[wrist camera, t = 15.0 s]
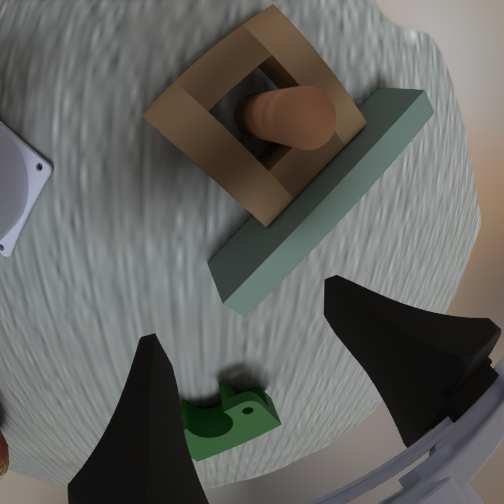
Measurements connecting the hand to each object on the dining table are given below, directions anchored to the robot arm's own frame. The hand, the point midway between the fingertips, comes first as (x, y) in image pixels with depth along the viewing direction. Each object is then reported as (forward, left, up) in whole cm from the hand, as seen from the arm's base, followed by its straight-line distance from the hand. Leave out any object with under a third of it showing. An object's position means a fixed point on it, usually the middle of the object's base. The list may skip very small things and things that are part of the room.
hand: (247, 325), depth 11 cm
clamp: (+14, -15, -10) cm, 23 cm away
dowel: (-3, +8, -10) cm, 13 cm away
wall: (+3, +8, -10) cm, 13 cm away
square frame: (-3, +8, -10) cm, 13 cm away
